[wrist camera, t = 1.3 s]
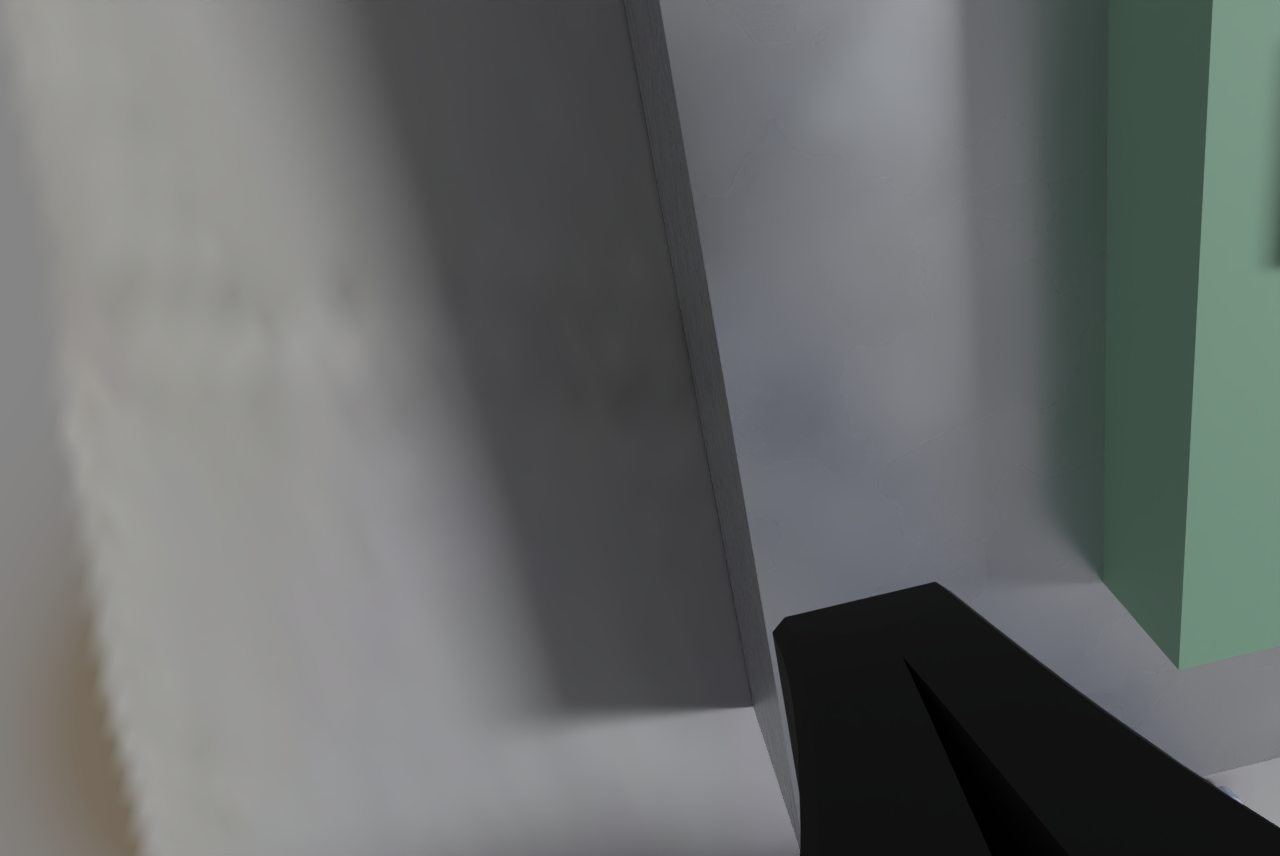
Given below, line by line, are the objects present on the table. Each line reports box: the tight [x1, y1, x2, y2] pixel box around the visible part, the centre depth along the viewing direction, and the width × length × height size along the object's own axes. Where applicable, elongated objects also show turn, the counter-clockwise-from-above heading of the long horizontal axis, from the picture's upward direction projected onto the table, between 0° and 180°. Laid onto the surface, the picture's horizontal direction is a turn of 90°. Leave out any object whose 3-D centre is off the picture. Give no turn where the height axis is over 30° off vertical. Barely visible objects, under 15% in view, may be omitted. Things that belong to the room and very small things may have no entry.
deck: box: [623, 0, 1280, 848], centre depth 16 cm, size 18×14×4 cm
